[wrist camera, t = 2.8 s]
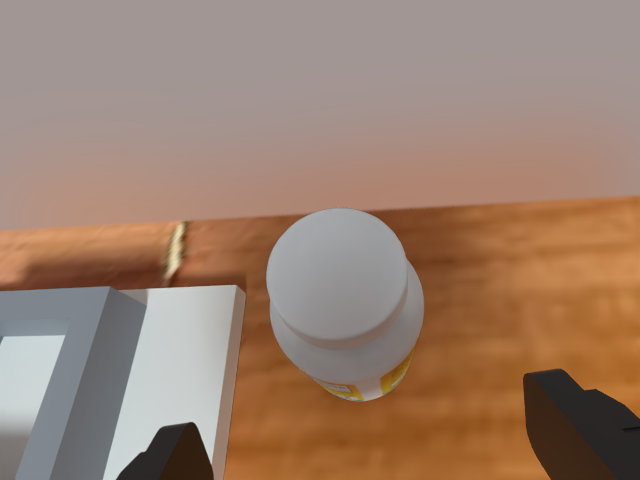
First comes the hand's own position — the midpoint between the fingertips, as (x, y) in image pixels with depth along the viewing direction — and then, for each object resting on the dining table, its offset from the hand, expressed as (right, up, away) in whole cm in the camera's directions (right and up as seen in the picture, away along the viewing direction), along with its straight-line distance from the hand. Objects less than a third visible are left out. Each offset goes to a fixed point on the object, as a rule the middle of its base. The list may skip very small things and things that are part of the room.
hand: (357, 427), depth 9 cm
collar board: (-15, -4, +11) cm, 19 cm away
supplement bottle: (+1, -1, +10) cm, 10 cm away
